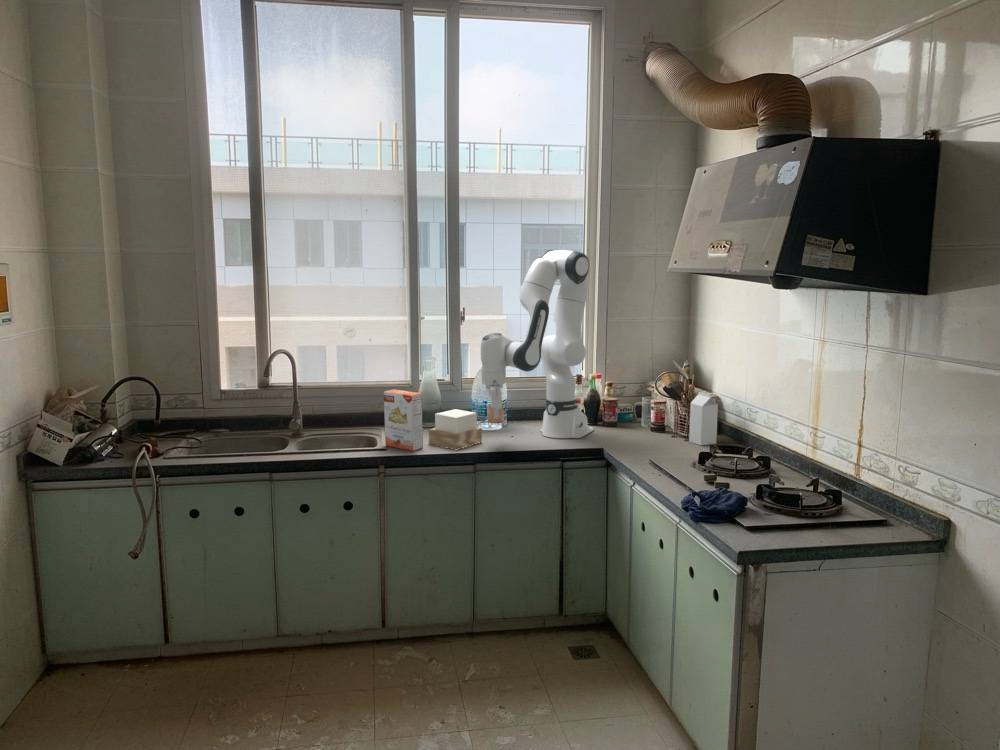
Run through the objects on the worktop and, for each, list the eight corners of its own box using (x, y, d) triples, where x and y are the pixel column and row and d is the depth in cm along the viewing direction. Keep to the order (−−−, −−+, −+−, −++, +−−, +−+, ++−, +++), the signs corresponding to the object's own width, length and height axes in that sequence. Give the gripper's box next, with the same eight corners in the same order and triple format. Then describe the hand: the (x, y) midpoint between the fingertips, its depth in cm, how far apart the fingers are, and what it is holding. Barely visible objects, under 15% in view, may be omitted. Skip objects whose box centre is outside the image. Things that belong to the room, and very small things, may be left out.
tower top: (455, 424, 285) (455, 409, 284) (476, 428, 278) (476, 412, 277) (435, 429, 277) (434, 413, 276) (456, 433, 270) (456, 417, 269)
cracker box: (384, 446, 275) (382, 391, 272) (395, 443, 280) (394, 388, 276) (412, 452, 267) (411, 395, 263) (423, 448, 272) (422, 392, 268)
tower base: (454, 437, 288) (454, 422, 287) (481, 443, 280) (481, 428, 279) (429, 445, 278) (428, 429, 277) (456, 451, 269) (455, 435, 268)
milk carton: (700, 446, 273) (702, 395, 270) (688, 441, 280) (690, 392, 277) (716, 444, 276) (718, 394, 273) (704, 439, 282) (706, 390, 279)
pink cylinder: (494, 418, 275) (494, 403, 274) (507, 420, 271) (506, 404, 270) (484, 422, 270) (483, 406, 269) (496, 424, 267) (495, 408, 266)
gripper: (505, 383, 258) (506, 421, 260) (500, 373, 278) (501, 409, 281) (486, 384, 258) (488, 422, 260) (483, 374, 278) (485, 410, 280)
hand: (495, 415), depth 270 cm, fingers closed on pink cylinder, 6 cm apart
